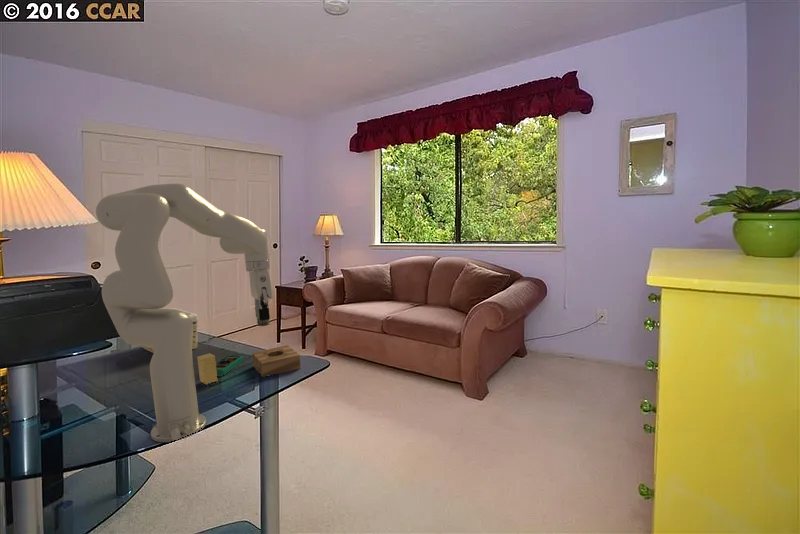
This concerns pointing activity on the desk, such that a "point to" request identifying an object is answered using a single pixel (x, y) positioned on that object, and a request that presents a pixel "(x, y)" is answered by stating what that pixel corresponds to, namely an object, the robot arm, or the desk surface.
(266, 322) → the cylinder
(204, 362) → the square bit
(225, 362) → the digital multimeter
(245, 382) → the desk surface
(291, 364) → the bore block
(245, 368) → the desk surface
